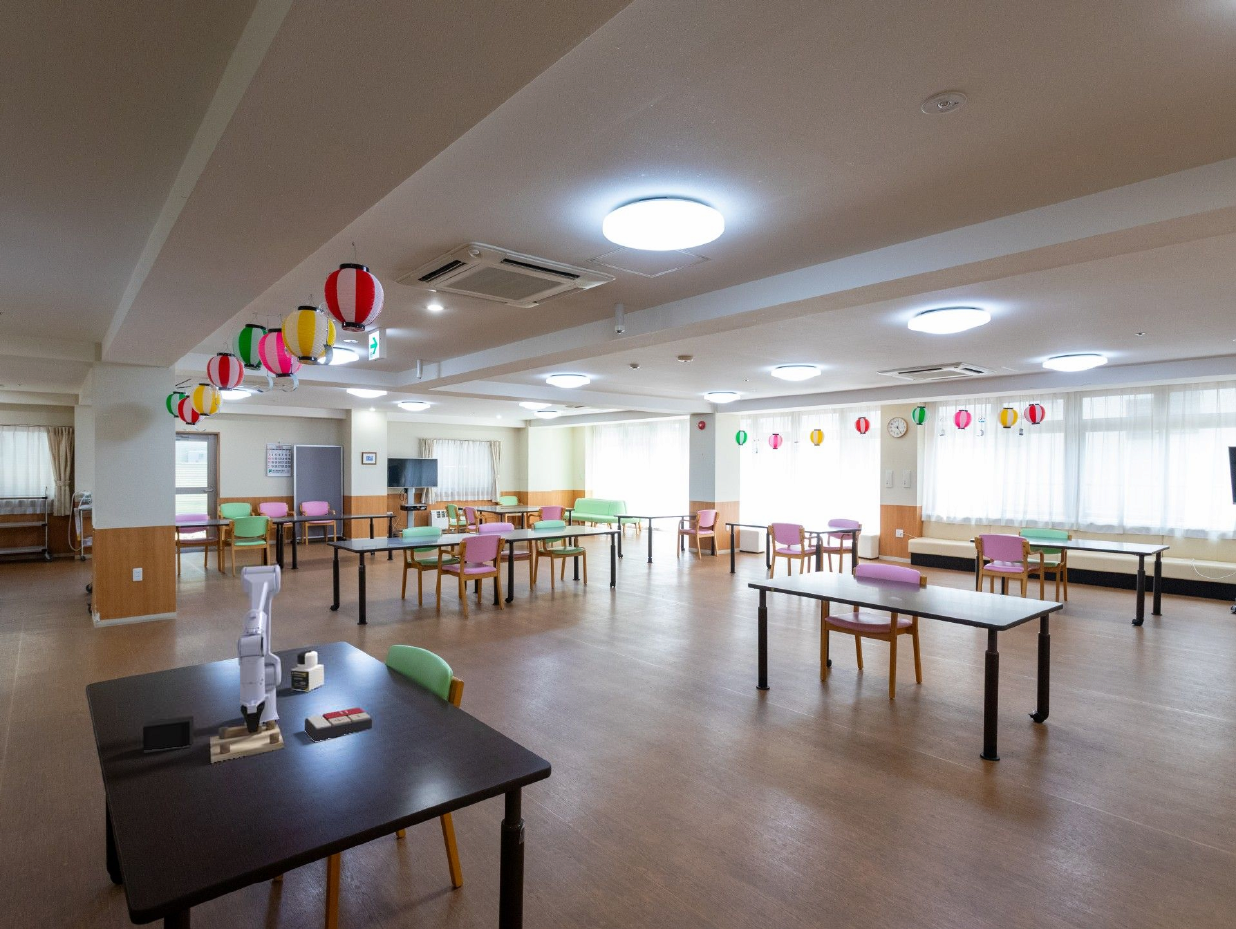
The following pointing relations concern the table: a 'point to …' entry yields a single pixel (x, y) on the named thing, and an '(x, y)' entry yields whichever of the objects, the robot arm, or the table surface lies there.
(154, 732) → the digital camera
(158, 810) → the table surface
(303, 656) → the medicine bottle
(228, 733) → the folding leg
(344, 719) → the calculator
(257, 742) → the stool seat
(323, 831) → the table surface
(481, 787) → the table surface
